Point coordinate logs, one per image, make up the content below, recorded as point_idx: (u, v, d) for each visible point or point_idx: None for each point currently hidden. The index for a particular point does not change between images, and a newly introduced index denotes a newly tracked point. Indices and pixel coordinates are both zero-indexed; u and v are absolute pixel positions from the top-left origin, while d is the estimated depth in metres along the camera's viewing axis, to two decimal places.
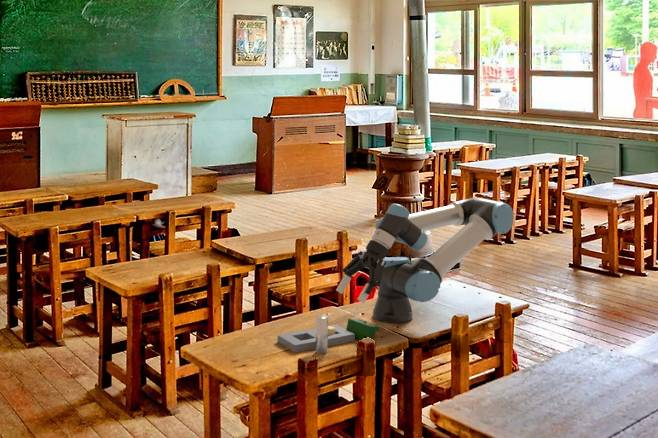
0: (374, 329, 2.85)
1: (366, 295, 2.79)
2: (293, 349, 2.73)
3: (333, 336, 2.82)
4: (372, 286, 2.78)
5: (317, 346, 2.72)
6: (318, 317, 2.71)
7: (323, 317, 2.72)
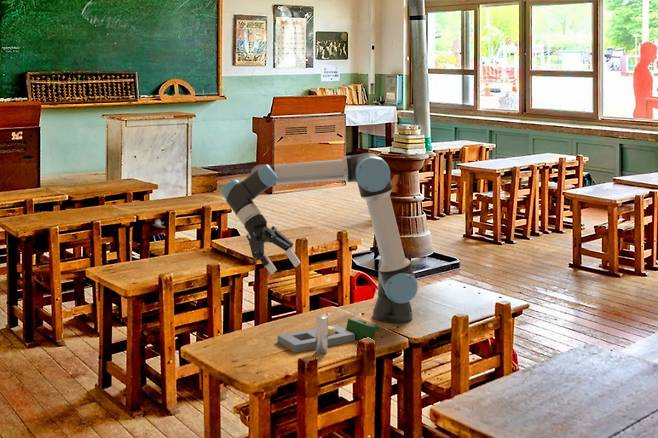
0: (374, 329, 2.85)
1: (269, 264, 2.74)
2: (293, 349, 2.73)
3: (333, 336, 2.82)
4: (260, 258, 2.74)
5: (317, 346, 2.72)
6: (318, 317, 2.71)
7: (323, 317, 2.72)
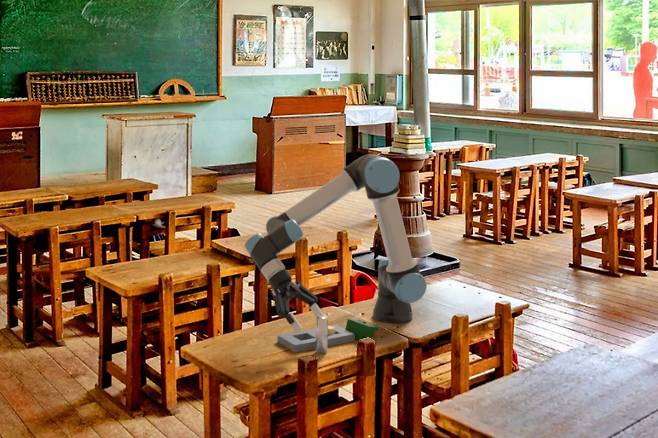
0: (373, 329, 2.84)
1: (295, 323, 2.68)
2: (293, 349, 2.73)
3: (333, 336, 2.82)
4: (286, 316, 2.68)
5: (317, 346, 2.72)
6: (318, 317, 2.71)
7: (323, 317, 2.72)
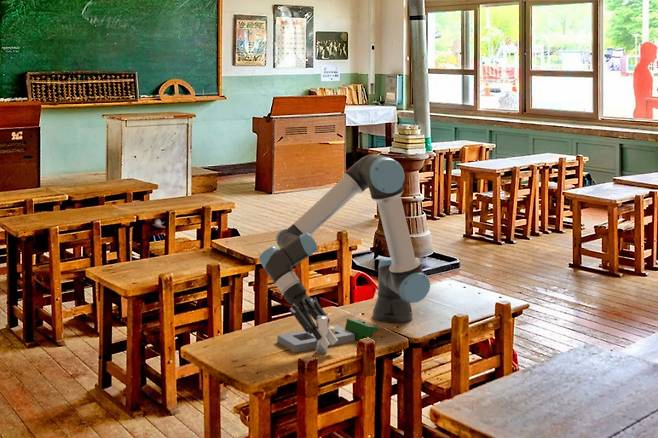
0: (373, 329, 2.84)
1: (322, 338, 2.69)
2: (293, 349, 2.73)
3: None
4: (313, 332, 2.69)
5: (317, 346, 2.72)
6: (318, 317, 2.71)
7: (323, 317, 2.72)
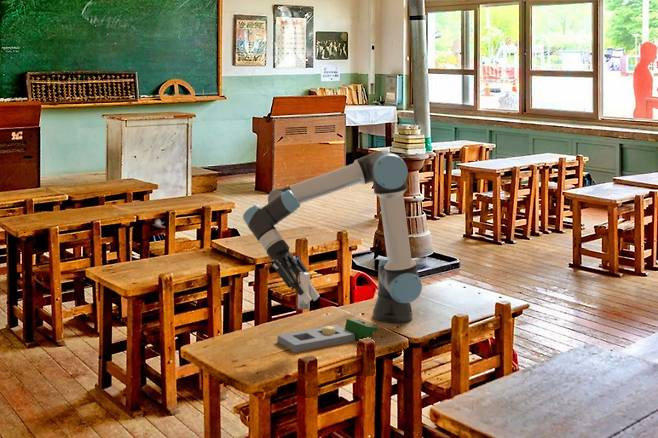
0: (372, 329, 2.84)
1: (304, 294, 2.74)
2: (293, 349, 2.73)
3: (333, 336, 2.82)
4: (295, 287, 2.75)
5: (299, 301, 2.77)
6: (300, 273, 2.77)
7: (305, 273, 2.77)
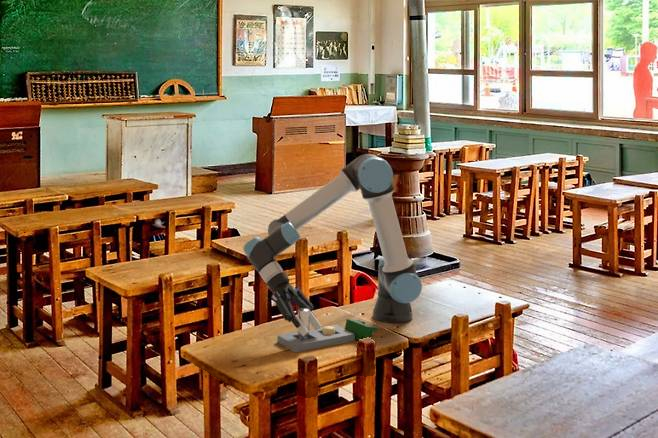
0: (372, 330, 2.84)
1: (301, 326, 2.75)
2: (293, 349, 2.73)
3: (333, 336, 2.82)
4: (292, 320, 2.76)
5: (299, 338, 2.80)
6: (300, 310, 2.79)
7: (305, 309, 2.79)
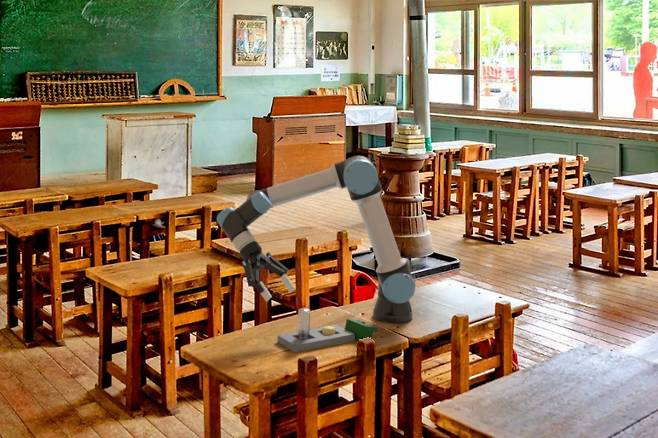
0: (372, 330, 2.84)
1: (265, 291, 2.78)
2: (293, 349, 2.73)
3: (333, 336, 2.82)
4: (256, 285, 2.78)
5: (299, 338, 2.80)
6: (300, 310, 2.79)
7: (306, 309, 2.80)
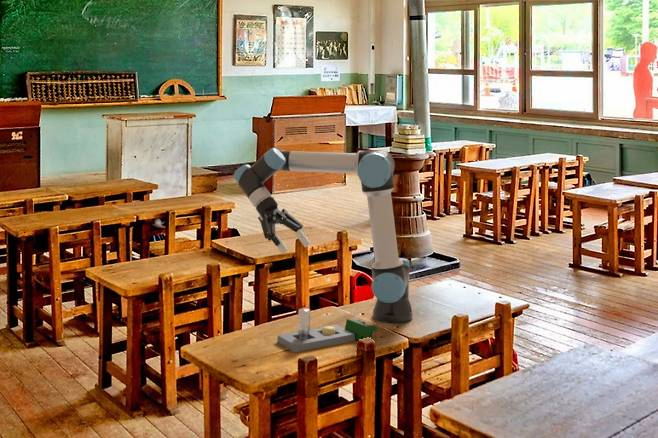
0: (372, 330, 2.84)
1: (281, 244, 2.87)
2: (293, 349, 2.73)
3: (333, 336, 2.82)
4: (272, 238, 2.87)
5: (299, 338, 2.80)
6: (300, 310, 2.79)
7: (306, 309, 2.80)
